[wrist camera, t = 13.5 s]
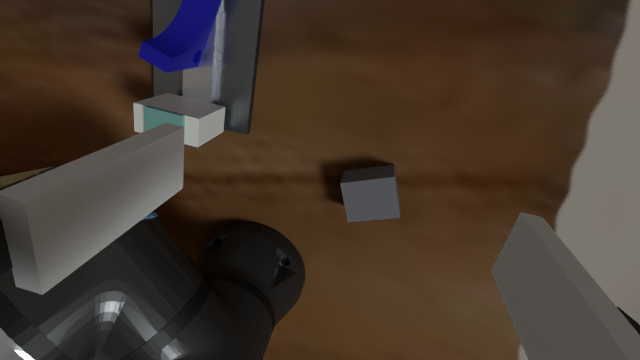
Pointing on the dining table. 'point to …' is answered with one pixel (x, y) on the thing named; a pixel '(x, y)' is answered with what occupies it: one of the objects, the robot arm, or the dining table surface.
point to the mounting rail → (218, 60)
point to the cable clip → (182, 37)
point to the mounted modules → (180, 117)
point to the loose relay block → (370, 193)
